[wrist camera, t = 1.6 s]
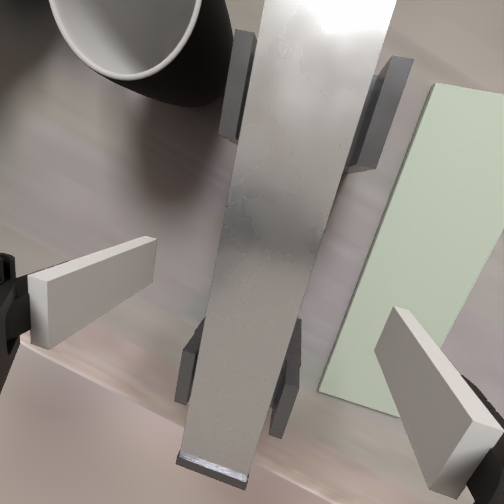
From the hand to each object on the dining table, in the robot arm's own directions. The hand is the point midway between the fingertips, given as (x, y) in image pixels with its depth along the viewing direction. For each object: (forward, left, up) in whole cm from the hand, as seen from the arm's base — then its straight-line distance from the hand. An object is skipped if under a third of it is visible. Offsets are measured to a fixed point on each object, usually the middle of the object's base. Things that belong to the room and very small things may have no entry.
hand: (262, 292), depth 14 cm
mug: (-12, +14, -12) cm, 22 cm away
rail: (0, 0, -5) cm, 5 cm away
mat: (+13, 0, -12) cm, 17 cm away
